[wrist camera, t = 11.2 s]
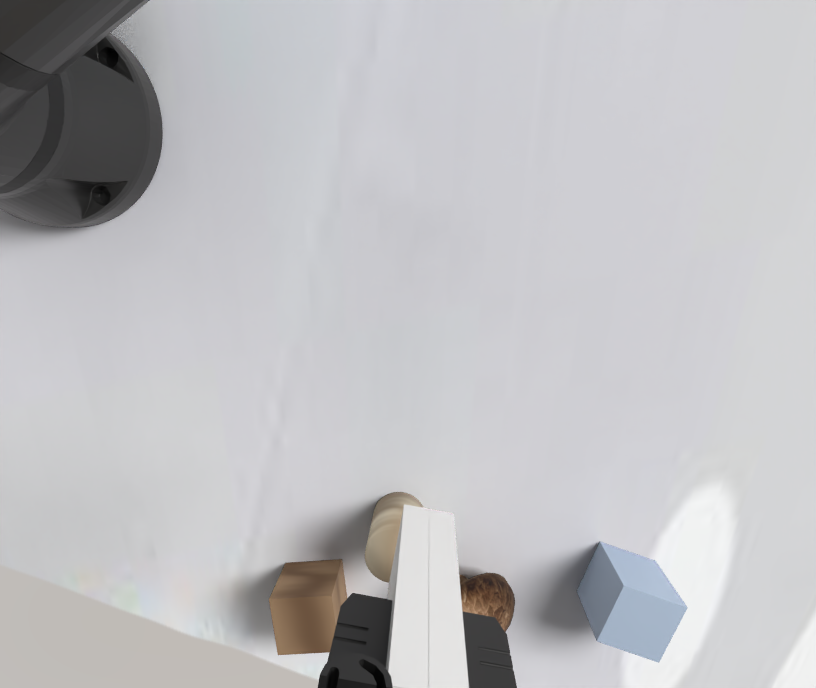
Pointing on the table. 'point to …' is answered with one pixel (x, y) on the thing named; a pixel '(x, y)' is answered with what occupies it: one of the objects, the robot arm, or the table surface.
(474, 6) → the table surface
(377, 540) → the birch cylinder
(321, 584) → the walnut block
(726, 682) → the table surface
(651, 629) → the slate block
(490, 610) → the mushroom
